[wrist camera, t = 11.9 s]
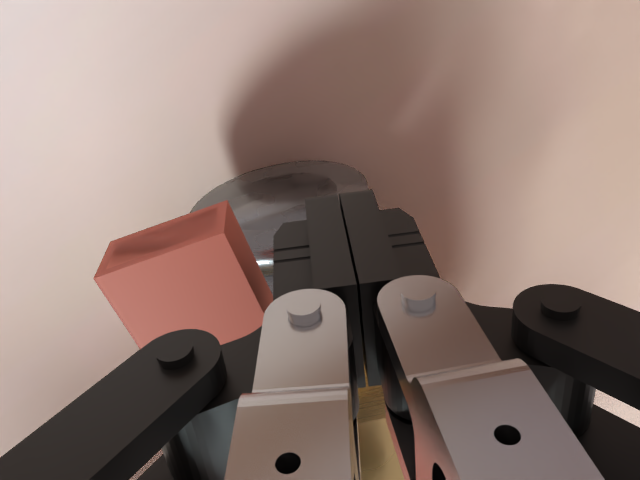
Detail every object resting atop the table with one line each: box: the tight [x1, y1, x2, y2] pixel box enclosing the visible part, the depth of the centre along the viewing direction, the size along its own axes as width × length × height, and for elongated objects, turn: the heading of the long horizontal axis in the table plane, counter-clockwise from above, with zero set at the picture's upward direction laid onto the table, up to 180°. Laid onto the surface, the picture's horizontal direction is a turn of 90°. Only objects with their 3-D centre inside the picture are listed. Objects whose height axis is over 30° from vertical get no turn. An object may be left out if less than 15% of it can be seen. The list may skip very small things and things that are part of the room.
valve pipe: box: [190, 161, 405, 480], centre depth 22 cm, size 18×6×9 cm, turn 11°
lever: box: [94, 200, 273, 349], centre depth 15 cm, size 14×4×2 cm, turn 19°
